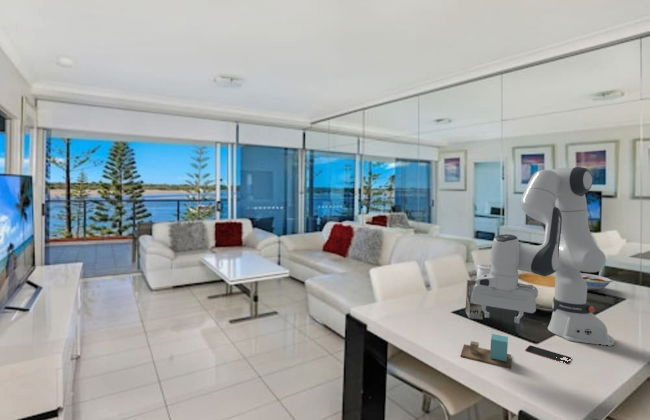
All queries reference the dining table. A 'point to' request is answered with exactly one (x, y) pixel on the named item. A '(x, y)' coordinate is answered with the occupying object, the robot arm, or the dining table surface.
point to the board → (483, 355)
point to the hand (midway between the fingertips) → (501, 320)
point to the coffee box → (472, 309)
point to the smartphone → (547, 354)
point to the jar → (483, 269)
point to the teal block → (499, 347)
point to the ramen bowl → (595, 281)
